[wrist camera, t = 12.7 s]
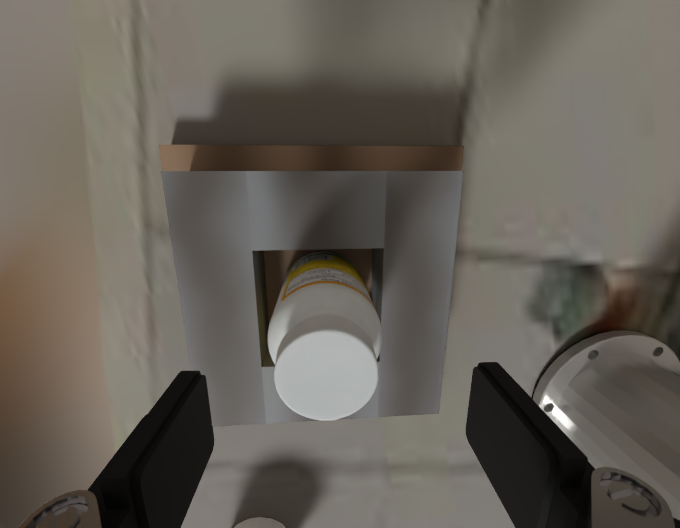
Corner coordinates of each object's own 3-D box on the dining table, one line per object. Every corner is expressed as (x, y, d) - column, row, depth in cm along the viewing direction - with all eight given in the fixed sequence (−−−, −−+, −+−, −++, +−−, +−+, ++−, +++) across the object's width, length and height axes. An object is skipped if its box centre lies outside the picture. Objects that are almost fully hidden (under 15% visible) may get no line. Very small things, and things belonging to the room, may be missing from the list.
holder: (453, 148, 21) (495, 139, 16) (431, 382, 25) (459, 431, 21) (170, 147, 19) (122, 137, 14) (205, 394, 24) (177, 448, 19)
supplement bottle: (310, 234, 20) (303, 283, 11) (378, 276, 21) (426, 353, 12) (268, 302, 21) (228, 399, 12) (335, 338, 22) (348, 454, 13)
